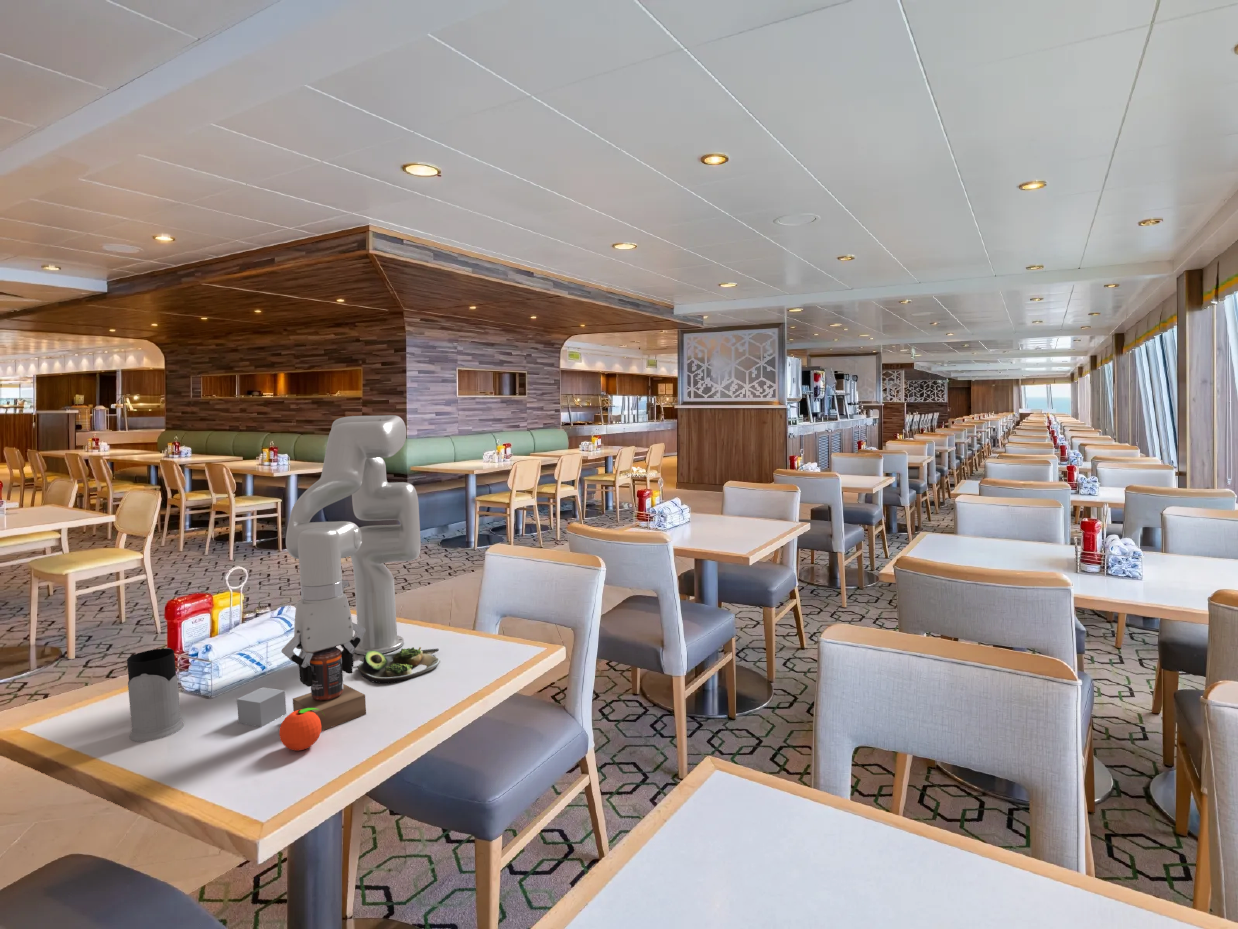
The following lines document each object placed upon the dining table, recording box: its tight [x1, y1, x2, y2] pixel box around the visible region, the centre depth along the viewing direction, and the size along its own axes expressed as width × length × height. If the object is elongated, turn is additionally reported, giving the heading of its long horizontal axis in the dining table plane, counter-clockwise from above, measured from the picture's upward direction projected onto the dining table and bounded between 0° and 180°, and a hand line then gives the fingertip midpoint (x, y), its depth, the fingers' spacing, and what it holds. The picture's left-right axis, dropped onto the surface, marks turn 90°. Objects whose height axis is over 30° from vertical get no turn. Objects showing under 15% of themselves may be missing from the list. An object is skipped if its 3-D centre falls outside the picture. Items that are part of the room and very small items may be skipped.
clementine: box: [278, 708, 325, 752], centre depth 123 cm, size 8×7×7 cm
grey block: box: [236, 686, 287, 728], centre depth 135 cm, size 6×6×5 cm
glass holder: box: [126, 647, 185, 742], centre depth 134 cm, size 9×14×15 cm, turn 15°
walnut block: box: [292, 683, 367, 732], centre depth 136 cm, size 10×10×4 cm
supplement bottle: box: [309, 646, 344, 700], centre depth 135 cm, size 6×6×11 cm
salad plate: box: [357, 646, 441, 684], centre depth 162 cm, size 19×18×5 cm
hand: (327, 677), depth 135 cm, fingers open, 7 cm apart
